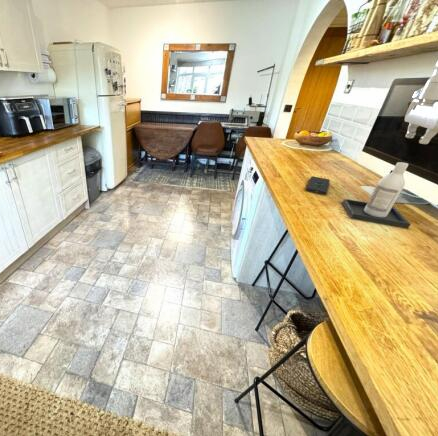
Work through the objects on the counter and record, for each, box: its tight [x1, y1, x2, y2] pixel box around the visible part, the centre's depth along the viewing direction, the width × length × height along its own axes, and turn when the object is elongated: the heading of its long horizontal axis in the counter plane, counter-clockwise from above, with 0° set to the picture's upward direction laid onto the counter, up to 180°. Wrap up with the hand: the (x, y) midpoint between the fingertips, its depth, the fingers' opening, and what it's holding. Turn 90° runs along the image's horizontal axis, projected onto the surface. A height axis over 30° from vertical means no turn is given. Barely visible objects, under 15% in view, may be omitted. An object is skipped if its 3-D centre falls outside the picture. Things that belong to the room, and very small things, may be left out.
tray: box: [341, 198, 412, 229], centre depth 92 cm, size 17×15×2 cm
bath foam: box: [364, 161, 409, 218], centre depth 87 cm, size 7×7×20 cm
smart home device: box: [305, 175, 331, 196], centre depth 116 cm, size 8×2×20 cm
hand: (415, 140), depth 79 cm, fingers open, 8 cm apart
